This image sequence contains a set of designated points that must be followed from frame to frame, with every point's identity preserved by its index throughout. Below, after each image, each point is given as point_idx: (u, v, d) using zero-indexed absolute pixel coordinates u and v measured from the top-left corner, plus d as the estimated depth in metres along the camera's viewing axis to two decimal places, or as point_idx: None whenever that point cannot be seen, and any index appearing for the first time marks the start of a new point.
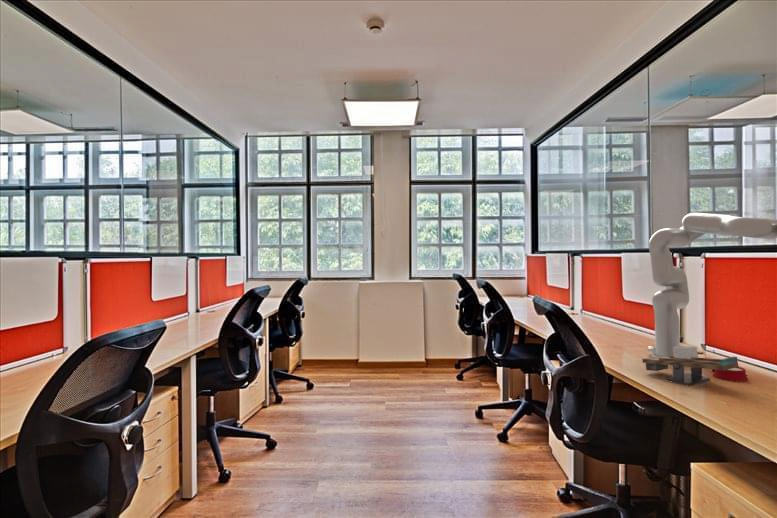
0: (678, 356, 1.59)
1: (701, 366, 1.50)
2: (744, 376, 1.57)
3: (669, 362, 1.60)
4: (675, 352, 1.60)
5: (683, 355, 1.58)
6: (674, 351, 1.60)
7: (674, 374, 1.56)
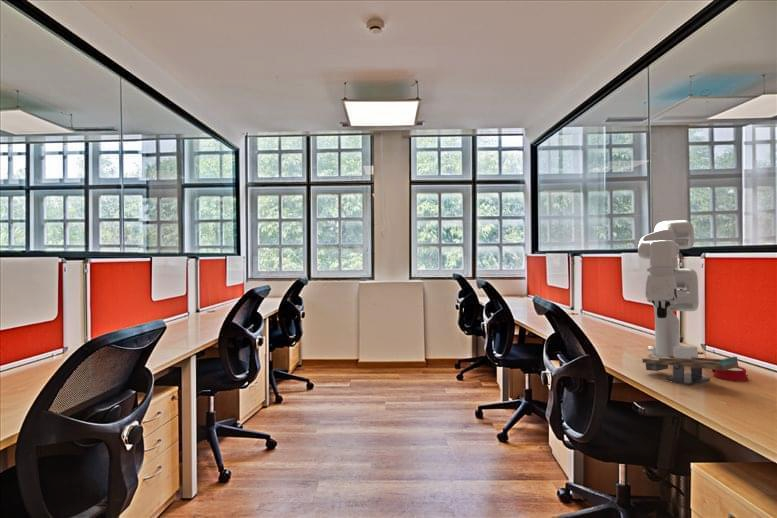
0: (678, 356, 1.59)
1: (701, 366, 1.50)
2: (744, 376, 1.57)
3: (669, 362, 1.60)
4: (675, 352, 1.60)
5: (683, 355, 1.58)
6: (674, 351, 1.60)
7: (674, 374, 1.56)
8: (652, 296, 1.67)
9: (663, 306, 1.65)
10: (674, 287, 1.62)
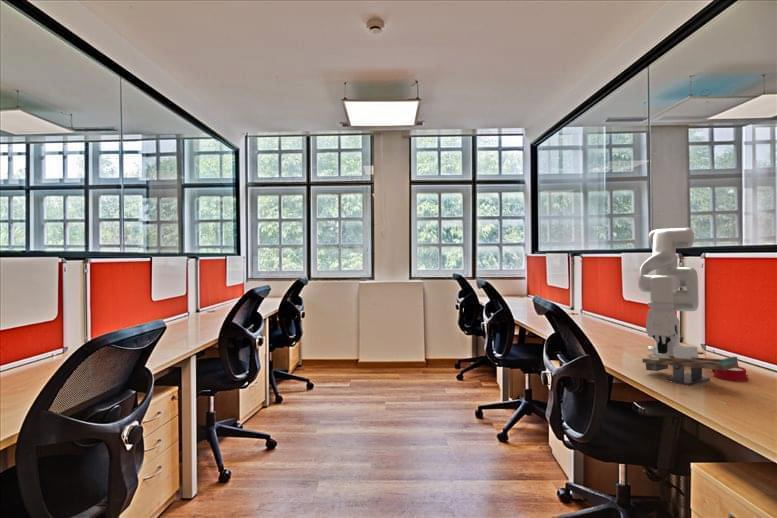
0: (678, 356, 1.59)
1: (701, 366, 1.50)
2: (745, 376, 1.57)
3: (669, 362, 1.60)
4: (675, 352, 1.60)
5: (683, 355, 1.58)
6: (674, 351, 1.60)
7: (674, 374, 1.56)
8: (653, 331, 1.67)
9: (664, 342, 1.65)
10: (675, 323, 1.62)
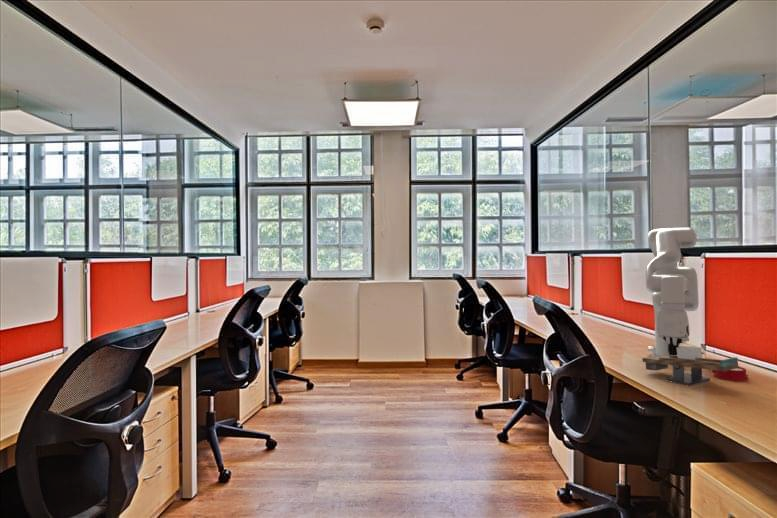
0: (682, 356, 1.58)
1: (701, 366, 1.50)
2: (745, 376, 1.57)
3: (669, 362, 1.60)
4: (679, 352, 1.59)
5: (687, 356, 1.56)
6: (678, 351, 1.59)
7: (674, 374, 1.56)
8: (663, 332, 1.63)
9: (675, 343, 1.61)
10: (686, 324, 1.58)
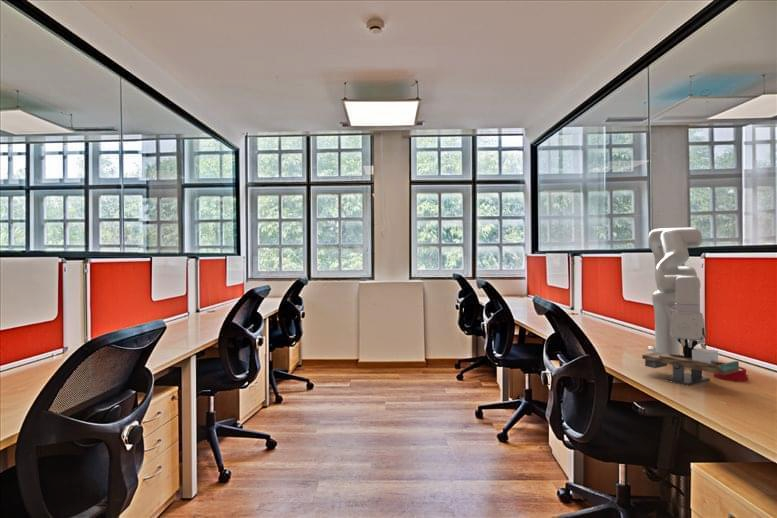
0: (697, 359, 1.53)
1: (701, 368, 1.50)
2: (745, 376, 1.57)
3: (669, 361, 1.60)
4: (694, 355, 1.54)
5: (702, 359, 1.52)
6: (693, 354, 1.54)
7: (674, 374, 1.56)
8: (678, 334, 1.59)
9: (690, 345, 1.56)
10: (702, 326, 1.54)
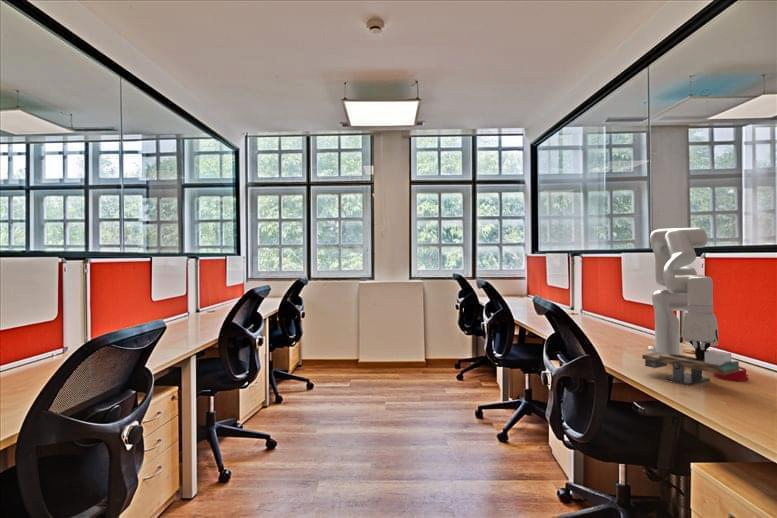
0: (710, 361, 1.50)
1: (701, 368, 1.50)
2: (745, 376, 1.57)
3: (669, 361, 1.60)
4: (706, 357, 1.51)
5: (715, 361, 1.48)
6: (706, 356, 1.51)
7: (674, 374, 1.56)
8: (690, 336, 1.55)
9: (702, 348, 1.53)
10: (715, 328, 1.50)
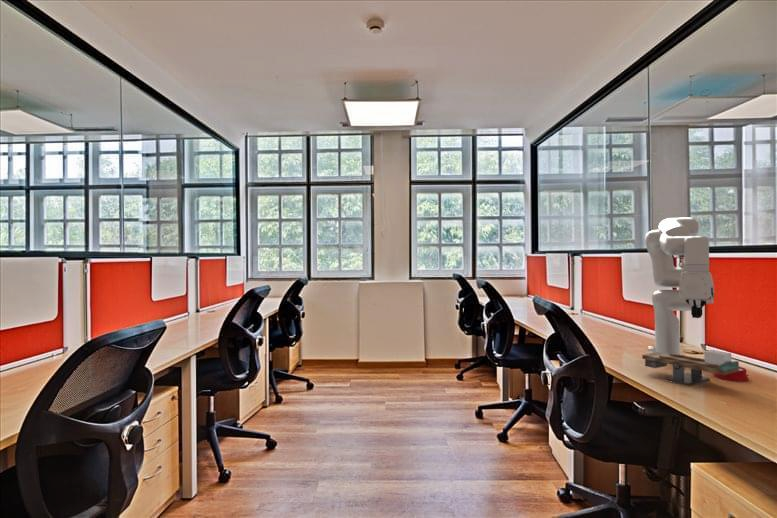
0: (710, 361, 1.50)
1: (701, 368, 1.50)
2: (745, 376, 1.57)
3: (669, 361, 1.60)
4: (706, 357, 1.51)
5: (715, 361, 1.48)
6: (706, 356, 1.51)
7: (674, 374, 1.56)
8: (687, 295, 1.59)
9: (698, 305, 1.57)
10: (711, 286, 1.54)
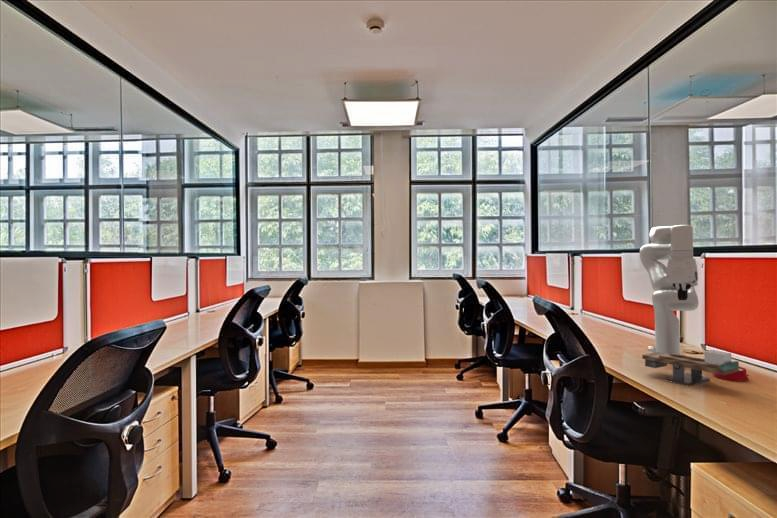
0: (710, 361, 1.50)
1: (701, 368, 1.50)
2: (745, 376, 1.58)
3: (669, 361, 1.60)
4: (706, 357, 1.51)
5: (715, 361, 1.48)
6: (706, 356, 1.51)
7: (674, 374, 1.56)
8: (673, 279, 1.72)
9: (684, 288, 1.70)
10: (695, 270, 1.67)
